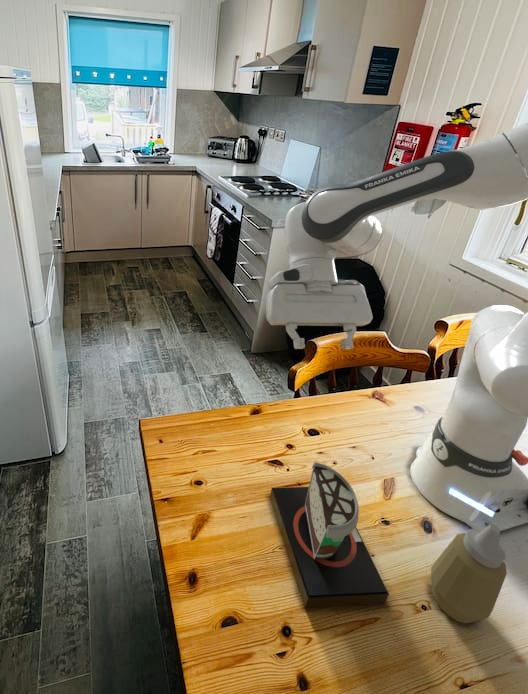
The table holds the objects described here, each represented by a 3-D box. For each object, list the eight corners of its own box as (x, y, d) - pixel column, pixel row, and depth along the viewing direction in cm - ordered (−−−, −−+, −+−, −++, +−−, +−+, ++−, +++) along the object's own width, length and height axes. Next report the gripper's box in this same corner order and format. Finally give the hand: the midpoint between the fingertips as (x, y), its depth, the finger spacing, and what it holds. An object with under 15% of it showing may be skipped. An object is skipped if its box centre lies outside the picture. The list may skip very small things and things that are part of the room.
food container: (355, 577, 62) (372, 536, 59) (316, 569, 63) (329, 528, 59) (337, 503, 74) (349, 465, 70) (303, 497, 74) (314, 459, 71)
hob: (333, 495, 78) (336, 484, 77) (384, 604, 62) (389, 592, 61) (269, 497, 77) (272, 486, 76) (304, 608, 61) (308, 596, 60)
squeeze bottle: (417, 599, 63) (455, 526, 56) (431, 561, 68) (467, 490, 61) (478, 647, 58) (529, 573, 51) (488, 602, 63) (535, 529, 56)
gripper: (354, 284, 83) (367, 351, 78) (260, 282, 82) (266, 350, 76) (371, 275, 77) (386, 346, 72) (269, 272, 76) (277, 345, 71)
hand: (323, 348), depth 74 cm, fingers open, 8 cm apart
